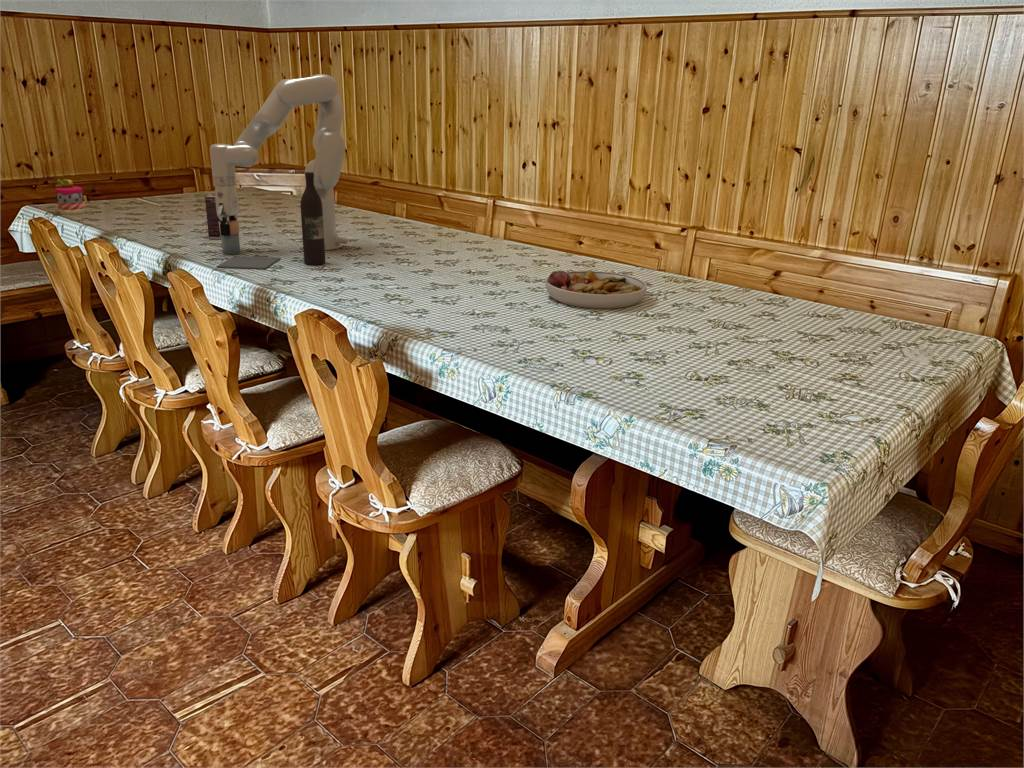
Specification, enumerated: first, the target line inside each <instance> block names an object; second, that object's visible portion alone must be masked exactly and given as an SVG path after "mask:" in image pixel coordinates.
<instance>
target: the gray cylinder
mask: <svg viewBox="0 0 1024 768" xmlns="http://www.w3.org/2000/svg"><path fill="white" fill-rule="evenodd" d="M220 241H221V250H222V254H223V255H237V254H238V255H239V254H240V253H241V245H240V244H241V243H240V233H238V234H232V235H230V236H222V235H221V239H220Z"/></svg>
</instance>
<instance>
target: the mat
mask: <svg viewBox="0 0 1024 768" xmlns="http://www.w3.org/2000/svg"><path fill="white" fill-rule="evenodd" d="M280 260H282V258H281V257H271V256H267V257H266V256H244V255H240V256H239V255H234V256H232V257H230V258H228V259H227V260H225V261H223V262H221V263H220V264H217V265H216V269H234V270H235V269H241V270H260V271H261V270H263V271H264V270H267V269H269V268H270V267H272V266H273V265H275V264H276V263H278V262H279V261H280Z"/></svg>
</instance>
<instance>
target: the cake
mask: <svg viewBox="0 0 1024 768" xmlns="http://www.w3.org/2000/svg"><path fill="white" fill-rule="evenodd" d="M56 183H57V184H55V187H56V188H55V189H54V191H55V196H56V198H57V199H56V201H57V208H58V209H59V214H60V215H63V216H77V215H85V214H86V210H85V208H86V203H85V200H84V194H83V188H82V187H80V186H78V185H73V184H74V182H73V180H71V179H66V178H64V179H63V180H60V179H56Z"/></svg>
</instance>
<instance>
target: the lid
mask: <svg viewBox="0 0 1024 768" xmlns="http://www.w3.org/2000/svg"><path fill="white" fill-rule="evenodd" d="M228 224H230V234H231V235H232V234H238V233H239V234H240V225H239V224H240V223H239V220H238V219H237V220H228ZM219 231H220V224H219ZM220 234H221V231H220Z"/></svg>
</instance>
